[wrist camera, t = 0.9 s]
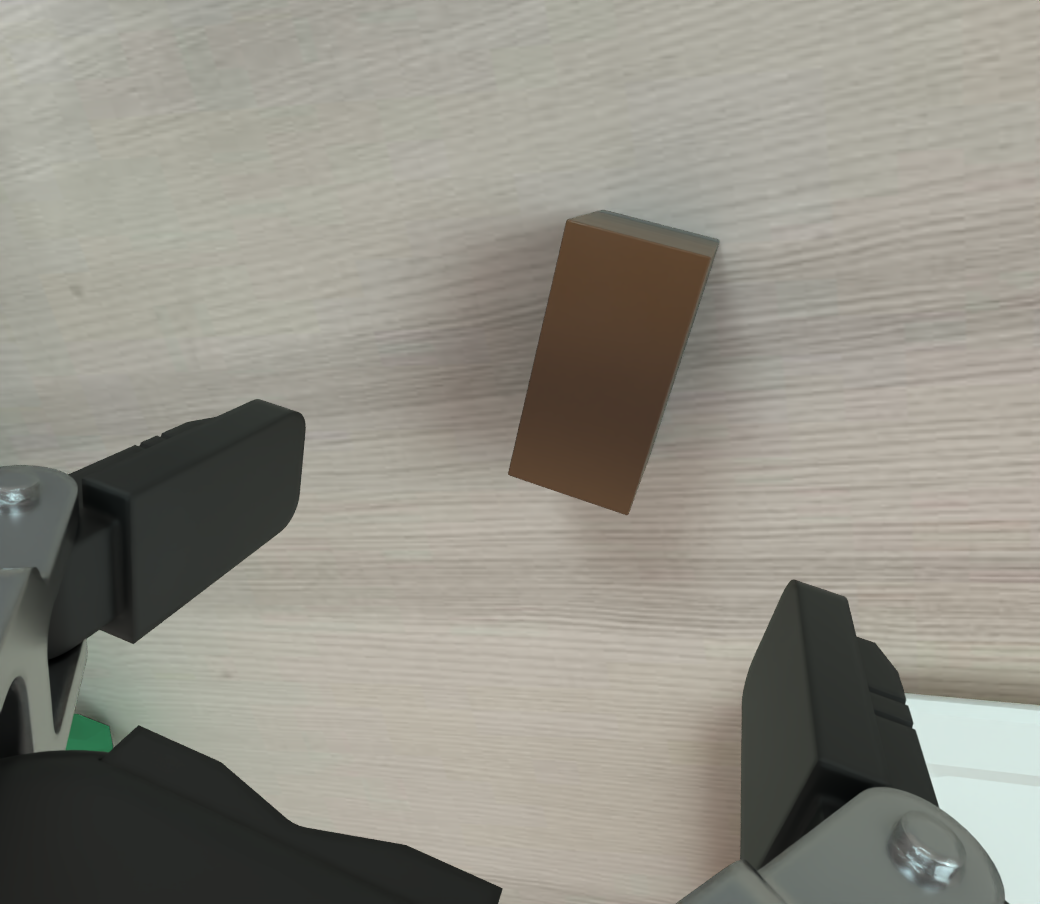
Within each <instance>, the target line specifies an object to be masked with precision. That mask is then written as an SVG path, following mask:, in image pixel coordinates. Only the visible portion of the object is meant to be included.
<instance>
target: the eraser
mask: <svg viewBox="0 0 1040 904" xmlns="http://www.w3.org/2000/svg"><path fill="white" fill-rule="evenodd" d="M718 245H719V240H718V239H715V238H711V237H707V236H703V235H699V234H695V233H692V232H688V231H684V230H680V229H676V228H672V227H668V226H664V225H660V224H657V223H653V222H649V221H645V220H641V219H637V218H633V217H629V216H625V215H622V214H618V213H614V212H610V211H606V210H601V211H597V212H593V213H589V214H586V215H582V216H579V217H575V218H571V219H568V220H567V221H566V225H565V229H564V234H563V238H562V242H561V247H560V251H559V255H558V260H557V264H556V268H555V273H554V277H553V281H552V286H551V290H550V294H549V299H548V303H547V307H546V312H545V316H544V320H543V325H542V329H541V333H540V338H539V342H538V346H537V351H536V355H535V359H534V364H533V368H532V372H531V377H530V381H529V385H528V390H527V394H526V398H525V403H524V407H523V411H522V416H521V420H520V424H519V429H518V433H517V437H516V442H515V446H514V450H513V455H512V459H511V463H510V468H509V472H508V475H510V476H513V477H516V478H519V479H522V480H525V481H528V482H530V483H533V484H536V485H539V486H542V487H545V488H548V489H551V490H554V491H557V492H560V493H563V494H566V495H569V496H572V497H575V498H578V499H580V500H583V501H586V502H589V503H592V504H595V505H598V506H601V507H604V508H607V509H610V510H613V511H616V512H619V513H622V514H625V515H628V514H629V512H630V509H631V506H632V504H633V501H634V498H635V495H636V493H637V490H638V487H639V484H640V482H641V479H642V476H643V473H644V471H645V468H646V465H647V463H648V460H649V457H650V454H651V451H652V448H653V445H654V442H655V439H656V436H657V433H658V429H659V426H660V423H661V420H662V417H663V414H664V411H665V408H666V405H667V402H668V399H669V396H670V393H671V390H672V386H673V383H674V380H675V377H676V374H677V371H678V368H679V365H680V362H681V359H682V356H683V353H684V350H685V347H686V343H687V340H688V337H689V334H690V331H691V328H692V325H693V322H694V319H695V316H696V313H697V310H698V307H699V304H700V300H701V297H702V294H703V291H704V288H705V285H706V282H707V279H708V276H709V273H710V270H711V267H712V264H713V261H714V257H715V254H716V251H717V248H718Z"/></svg>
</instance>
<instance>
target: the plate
mask: <svg viewBox="0 0 1040 904" xmlns="http://www.w3.org/2000/svg"><path fill="white" fill-rule="evenodd" d="M905 697H906V703H905V705H908V706H909V710H910V713H911V716H912V720H913V723H914V724H913V729H915V730H916V733H917V736H918V739H919V743H920V746H921V749H922V752H923V756H924V759H925V762H926V765H927V769H928V772H929V775H930V779H931V782H932V785H933V788H934V792H935V795H936V798H937V802H938V805H939V808H940V809H942V810H943V811H945V812H946V813H947V814H949V815H950V816H951V817H953V818H954V819H955V820H956V821H958V822H959V823H960V824H961V825H962V826H963V827H964V828H965V829H967V830H968V831H969V832H970V833H971V835H972V836H973V837H974V838H975V839H976V840H977V841H978V842H979V843H980V844H981V846H982V847H983V848H984V849H985V851H986V852H987V853H988V855H989V856H990V858H991V860H992V861H993V863H994V864H995V866H996V868H997V870H998V872H999V874H1000V876H1001V879H1002V883H1003V886H1004V891H1005V900H1006V901H1007V902H1008V903H1009V904H1040V705H1033V704H1022V703H1011V702H1000V701H989V700H978V699H966V698H955V697H944V696H933V695H922V694H910V693H905Z"/></svg>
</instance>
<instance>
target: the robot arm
mask: <svg viewBox="0 0 1040 904" xmlns="http://www.w3.org/2000/svg"><path fill="white" fill-rule="evenodd" d="M305 428H306V427H305V420H304V417H303V416H302V414H301V413H299V412H296V411H293V410H290V409H287V408H284V407H281V406H278V405H275V404H272V403H269V402H266V401H263V400H260V399H256V400H253V401H250V402H248V403H246V404H244V405H241V406H239V407H237V408H235V409H233V410H230V411H228V412H226V413H224V414H222V415H219V416H217V417H213V418H207V419H202V420H196V421H191V422H187V423H184V424H182V425H180V426H178V427H175V428H173V429H171V430H168V431H166V432H164V433H162V435H161V437H159V436H155V437H153V438H150V439H148V440H146V441H143V442H141V444H140V446H136V445H134V446H132V447H130V448H128V449H125V450H123V451H121V452H118V453H116V454H114V455H112V456H109V457H107V458H105V459H103V460H100V461H98V462H96V463H93V464H91V465H89V466H87V467H84V468H82V469H80V470H78V471H75V472H73V473H71V474H68V475H67V474H66V473H64V472H61V471H58V470H55V469H51V468H47V467H40V466H28V465H14V466H2V467H0V904H498V902H499V899H500V896H501V892H502V889H503V888H501V887H498V886H496V885H494V884H492V883H489V882H487V881H485V880H483V879H480V878H478V877H476V876H474V875H472V874H469V873H467V872H465V871H463V870H460V869H458V868H456V867H454V866H451V865H449V864H447V863H445V862H443V861H440V860H438V859H436V858H434V857H431V856H429V855H427V854H425V853H422V852H420V851H418V850H416V849H413V848H411V847H409V846H407V845H402V844H397V843H391V842H385V841H380V840H374V839H368V838H362V837H357V836H351V835H345V834H340V833H334V832H328V831H322V830H317V829H311V828H306V827H302V826H299V825H296V824H294V823H292V822H291V821H289V820H288V819H287V818H285V817H284V816H283V815H282V814H281V813H280V812H278V811H277V810H276V809H275V808H274V807H273V806H271V805H270V804H269V803H268V802H267V801H266V800H264V799H263V798H262V797H261V796H260V795H259V794H257V793H256V792H255V791H254V790H253V789H252V788H250V787H249V786H248V785H247V784H246V783H245V782H243V781H242V780H241V779H240V778H239V777H238V776H236V775H235V774H234V773H233V772H232V771H231V770H229V769H228V768H227V767H226V766H225V765H224V764H222V763H221V762H219V761H217V760H215V759H213V758H210V757H208V756H206V755H204V754H201V753H199V752H197V751H195V750H192V749H190V748H188V747H186V746H184V745H181V744H179V743H177V742H175V741H172V740H170V739H168V738H166V737H163V736H161V735H159V734H157V733H154V732H152V731H150V730H148V729H146V728H143V727H141V726H139V725H138V726H137V727H136V728H135V729H134V730H133V731H132V732H131V733H130V734H128V735H127V736H126V737H125V738H124V739H123V740H122V741H121V742H120V743H119V744H117V745H116V746H115V747H114V748H113V749H112V750H111V751H110V752H104V751H88V750H65V749H66V745H67V741H68V736H69V732H70V728H71V724H72V719H73V715H74V711H75V707H76V703H77V698H78V694H79V690H80V686H81V681H82V677H83V673H84V669H85V665H86V660H87V653H88V650H87V638H88V637H90V636H91V635H92V634H94V633H95V632H97V631H98V630H102V631H104V632H106V633H109V634H111V635H113V636H116V637H118V638H121V639H123V640H125V641H128V642H130V643H132V644H134V643H135V642H137V641H138V640H139V639H141V638H142V637H143V636H145V635H146V634H147V633H148V632H150V631H151V630H152V629H154V628H155V627H156V626H158V625H159V624H160V623H162V622H163V621H164V620H166V619H167V618H168V617H169V616H171V615H172V614H173V613H175V612H176V611H177V610H179V609H180V608H181V607H183V606H184V605H185V604H186V603H188V602H189V601H190V600H192V599H193V598H194V597H196V596H197V595H198V594H200V593H201V592H202V591H204V590H205V589H206V588H207V587H209V586H210V585H211V584H213V583H214V582H215V581H217V580H218V579H219V578H221V577H222V576H223V575H224V574H226V573H227V572H228V571H230V570H231V569H232V568H234V567H235V566H236V565H238V564H239V563H240V562H242V561H243V560H244V559H245V558H247V557H248V556H249V555H251V554H252V553H253V552H255V551H256V550H257V549H259V548H260V547H261V546H263V545H264V544H265V543H266V542H268V541H269V540H270V539H272V538H273V537H274V536H276V535H277V534H278V533H280V532H281V531H282V530H283V529H284V528H285V527H286V526H287V524H288V523H289V522H290V520H291V518H292V517H293V515H294V513H295V510H296V508H297V505H298V501H299V495H300V485H301V474H302V463H303V452H304V441H305ZM905 703H906V697H905V693H904V690H903V687H902V684H901V680H900V677H899V674H898V671H897V670H896V669H895V668H894V666H893V665H892V664H891V662H890V661H889V660H888V659H887V657H886V656H885V655H884V654H883V652H882V651H881V650H880V648H879V647H878V646H877V645H876V643H874V642H871V641H868V640H865V639H862V638H859V637H856V633H855V629H854V625H853V621H852V616H851V612H850V608H849V604H848V600H847V598H846V597H844V596H841V595H838V594H836V593H833V592H830V591H827V590H824V589H821V588H818V587H815V586H812V585H809V584H806V583H803V582H800V581H797V580H791V581H790V582H789V583H788V585H787V586H786V588H785V590H784V592H783V594H782V596H781V598H780V600H779V602H778V605H777V607H776V609H775V611H774V614H773V616H772V618H771V620H770V622H769V625H768V627H767V629H766V631H765V633H764V636H763V638H762V640H761V642H760V645H759V647H758V649H757V651H756V653H755V656H754V658H753V660H752V663H751V665H750V668H749V671H748V674H747V678H746V681H745V685H744V690H743V696H742V740H741V849H740V860H739V861H736V862H734V863H732V864H730V865H729V866H727V867H726V868H724V869H723V870H722V871H720V872H719V873H717V874H716V875H715V876H713V877H712V878H710V879H709V880H708V881H706V882H705V883H704V884H702V885H701V886H699V887H698V888H697V889H695V890H694V891H692V892H691V893H690V894H688V895H687V896H686V897H684V898H683V899H681V900H680V901H679V902H677V903H676V904H1009V903H1008V902H1007V901H1006V900H1005V891H1004V886H1003V883H1002V879H1001V876H1000V874H999V872H998V870H997V868H996V866H995V864H994V863H993V861H992V860H991V858H990V856H989V855H988V853H987V852H986V851H985V849H984V848H983V847H982V846H981V844H980V843H979V842H978V841H977V840H976V839H975V838H974V837H973V836H972V835H971V833H970V832H969V831H968V830H967V829H965V828H964V827H963V826H962V825H961V824H960V823H959V822H958V821H956V820H955V819H954V818H953V817H951V816H950V815H949V814H947V813H946V812H945V811H943V810H942V809H940V808H939V805H938V802H937V798H936V795H935V792H934V788H933V785H932V782H931V779H930V775H929V772H928V769H927V765H926V762H925V759H924V756H923V752H922V749H921V746H920V743H919V739H918V736H917V733H916V730H915V729H913V724H914V723H913V720H912V716H911V713H910V710H909V706H908V705H905Z"/></svg>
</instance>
